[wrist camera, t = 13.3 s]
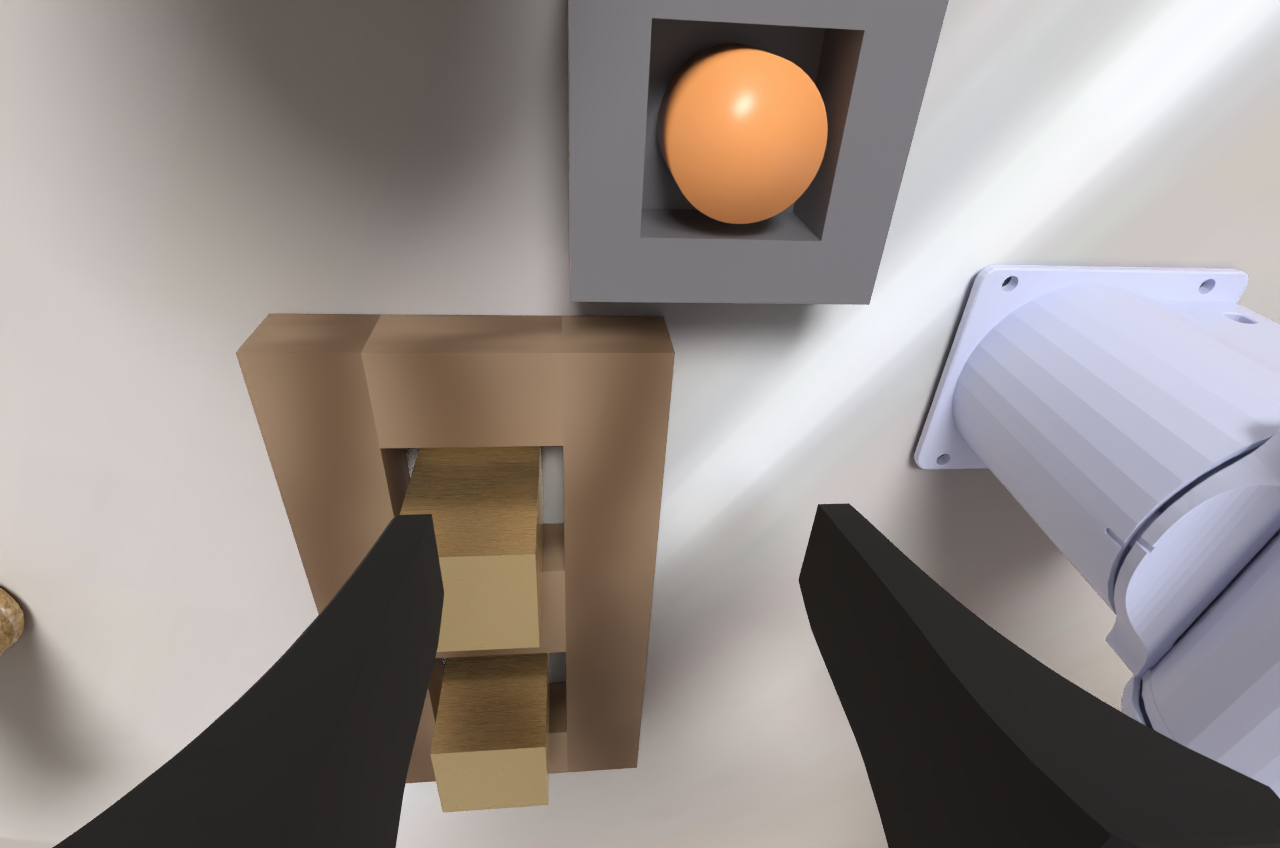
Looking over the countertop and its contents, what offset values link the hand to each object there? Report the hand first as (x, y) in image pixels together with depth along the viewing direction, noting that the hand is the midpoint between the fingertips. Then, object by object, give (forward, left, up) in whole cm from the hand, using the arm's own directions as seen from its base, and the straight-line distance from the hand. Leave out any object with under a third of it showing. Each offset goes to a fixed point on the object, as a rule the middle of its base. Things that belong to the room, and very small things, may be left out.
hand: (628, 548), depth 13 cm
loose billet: (+4, +7, -10) cm, 13 cm away
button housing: (-3, -6, -10) cm, 12 cm away
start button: (-3, -6, -9) cm, 11 cm away
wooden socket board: (+4, +11, -10) cm, 16 cm away
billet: (+4, +16, -10) cm, 20 cm away
